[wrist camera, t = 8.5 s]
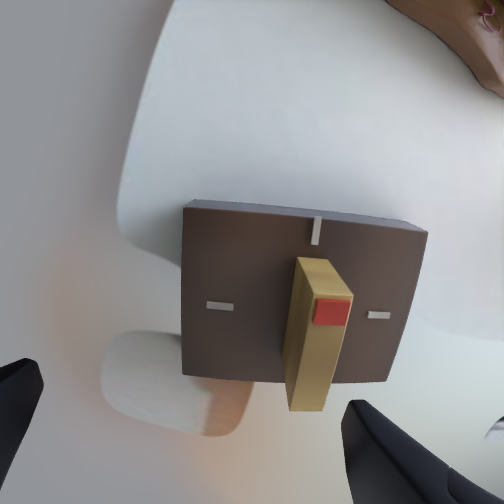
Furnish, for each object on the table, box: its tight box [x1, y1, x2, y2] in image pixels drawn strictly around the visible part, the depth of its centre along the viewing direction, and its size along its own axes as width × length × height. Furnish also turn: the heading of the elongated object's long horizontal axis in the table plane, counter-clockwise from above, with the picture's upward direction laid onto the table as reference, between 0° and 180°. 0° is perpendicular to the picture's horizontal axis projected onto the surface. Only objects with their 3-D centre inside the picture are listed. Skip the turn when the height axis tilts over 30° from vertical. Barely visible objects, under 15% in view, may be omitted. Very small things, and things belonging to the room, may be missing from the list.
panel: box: [181, 199, 428, 383], centre depth 18 cm, size 13×10×3 cm
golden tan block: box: [281, 257, 353, 411], centre depth 14 cm, size 6×2×5 cm, turn 175°
